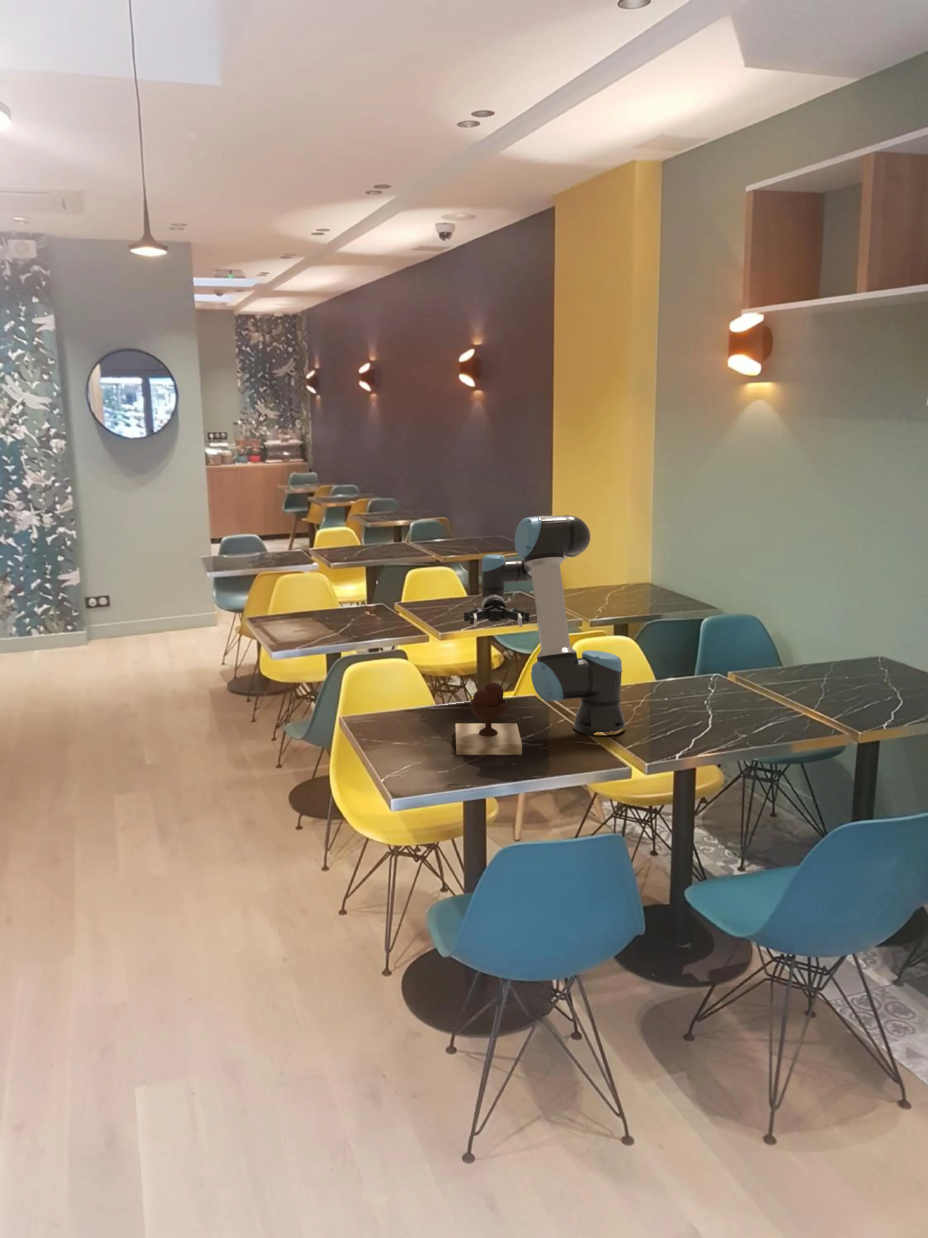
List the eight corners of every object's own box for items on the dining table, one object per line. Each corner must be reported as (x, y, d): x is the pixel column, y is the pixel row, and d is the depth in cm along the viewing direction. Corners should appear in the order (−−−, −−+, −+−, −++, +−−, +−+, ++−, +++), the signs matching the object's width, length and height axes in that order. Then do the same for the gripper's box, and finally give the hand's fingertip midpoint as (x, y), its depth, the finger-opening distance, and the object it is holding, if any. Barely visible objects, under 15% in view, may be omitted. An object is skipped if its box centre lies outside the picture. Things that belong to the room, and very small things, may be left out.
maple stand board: (516, 733, 288) (516, 723, 288) (521, 754, 271) (522, 744, 270) (455, 733, 288) (455, 723, 287) (456, 754, 270) (456, 744, 270)
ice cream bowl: (493, 725, 286) (493, 675, 283) (514, 736, 277) (515, 684, 274) (462, 731, 281) (462, 680, 277) (483, 742, 271) (483, 690, 268)
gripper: (532, 619, 318) (539, 634, 297) (455, 619, 317) (456, 634, 297) (533, 596, 316) (539, 610, 296) (455, 596, 316) (456, 610, 295)
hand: (498, 622), depth 296 cm, fingers open, 13 cm apart
